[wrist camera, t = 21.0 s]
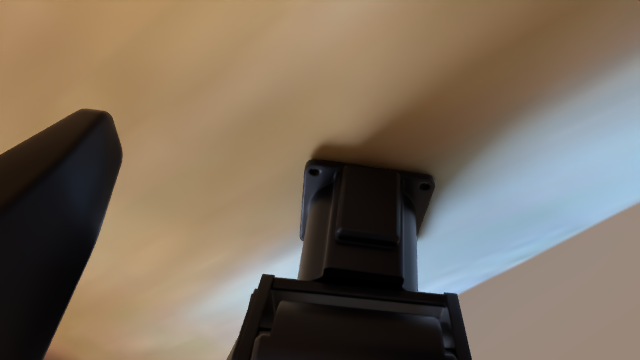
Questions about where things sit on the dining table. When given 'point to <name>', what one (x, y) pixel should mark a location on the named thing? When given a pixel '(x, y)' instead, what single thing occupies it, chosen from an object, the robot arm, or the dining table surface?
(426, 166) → the dining table surface
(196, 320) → the dining table surface
